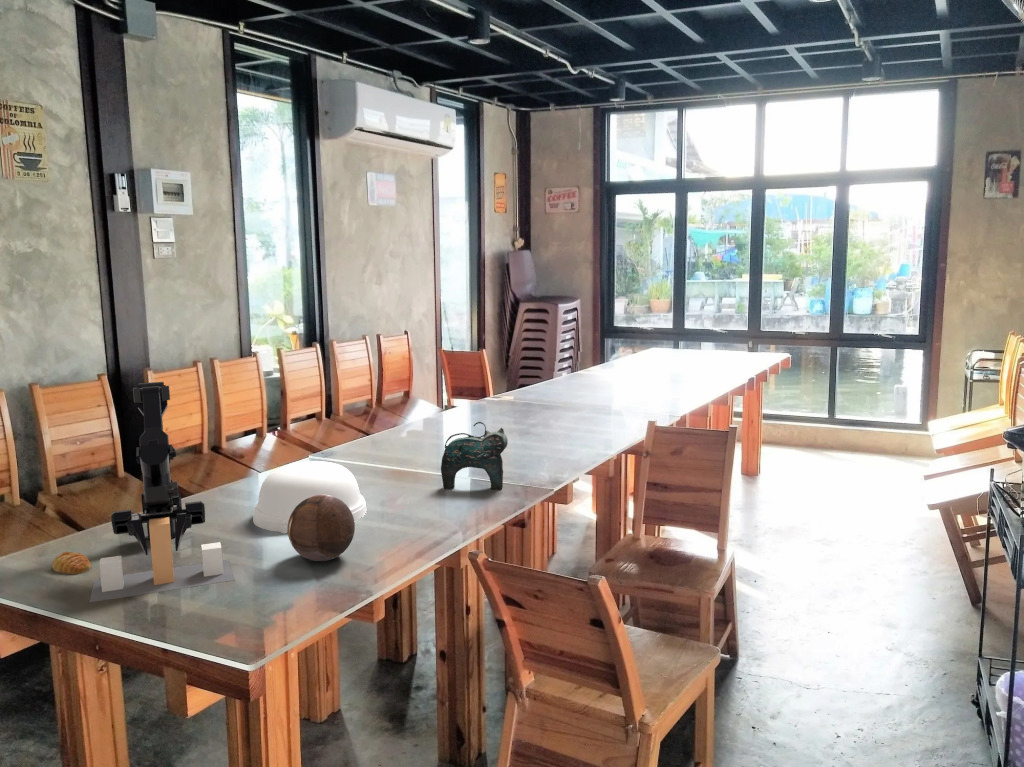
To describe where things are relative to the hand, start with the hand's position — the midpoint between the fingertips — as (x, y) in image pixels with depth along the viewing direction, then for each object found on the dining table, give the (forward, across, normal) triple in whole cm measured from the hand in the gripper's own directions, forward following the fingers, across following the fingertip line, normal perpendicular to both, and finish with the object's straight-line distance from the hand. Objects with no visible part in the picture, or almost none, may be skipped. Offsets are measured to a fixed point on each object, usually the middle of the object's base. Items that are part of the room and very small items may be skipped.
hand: (161, 552), depth 182 cm
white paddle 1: (+4, -10, +6) cm, 12 cm away
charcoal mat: (+4, 0, +6) cm, 7 cm away
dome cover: (-21, +37, +32) cm, 53 cm away
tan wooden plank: (+4, 0, +6) cm, 7 cm away
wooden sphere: (+5, +34, +6) cm, 35 cm away
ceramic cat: (-25, +86, +36) cm, 97 cm away
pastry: (-8, -19, +18) cm, 28 cm away
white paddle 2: (+4, +10, +6) cm, 12 cm away
